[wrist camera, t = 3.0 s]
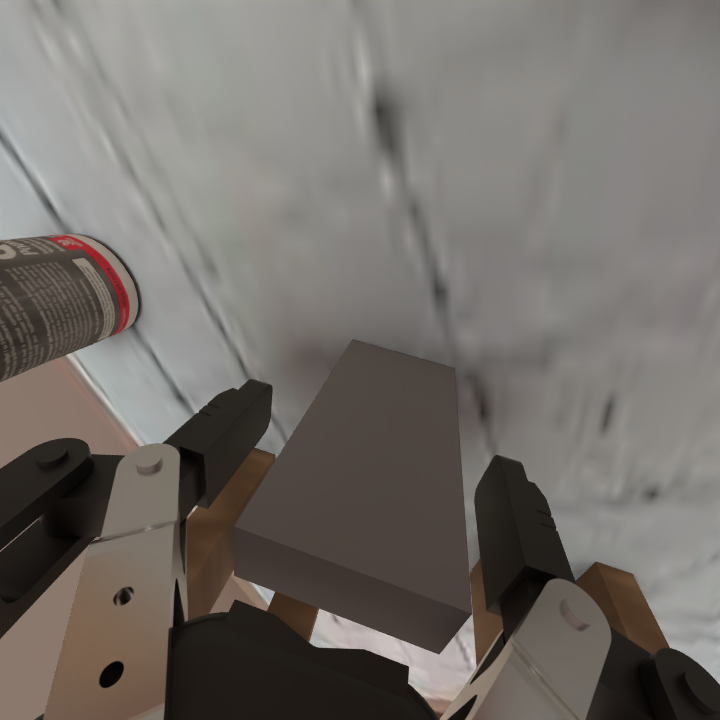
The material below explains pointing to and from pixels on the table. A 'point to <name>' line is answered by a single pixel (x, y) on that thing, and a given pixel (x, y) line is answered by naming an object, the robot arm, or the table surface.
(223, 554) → the walnut domino
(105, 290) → the pill bottle
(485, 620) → the walnut domino
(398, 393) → the charcoal domino
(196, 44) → the table surface
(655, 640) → the walnut domino
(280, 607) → the walnut domino
